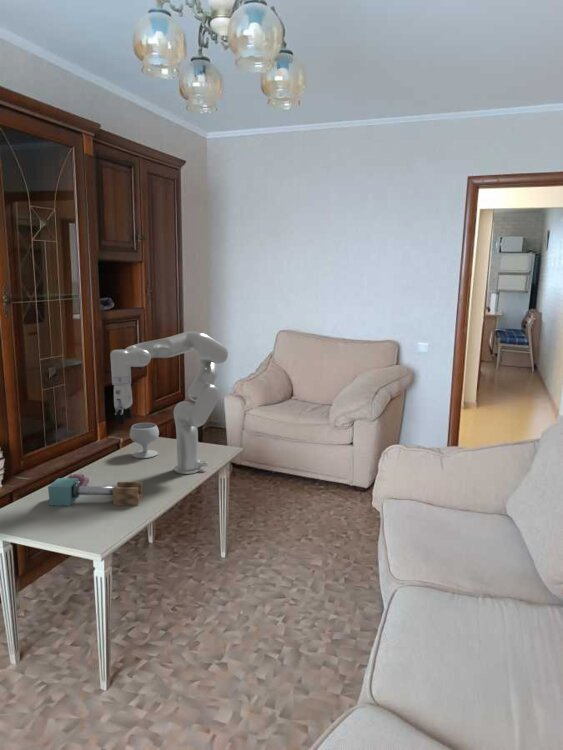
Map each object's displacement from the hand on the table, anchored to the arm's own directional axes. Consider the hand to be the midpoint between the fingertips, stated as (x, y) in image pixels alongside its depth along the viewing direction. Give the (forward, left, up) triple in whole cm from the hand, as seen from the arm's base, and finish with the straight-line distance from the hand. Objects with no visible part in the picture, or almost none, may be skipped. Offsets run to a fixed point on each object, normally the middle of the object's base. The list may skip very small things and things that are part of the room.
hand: (123, 420), depth 223 cm
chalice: (+3, -40, -28) cm, 49 cm away
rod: (+11, +16, -27) cm, 33 cm away
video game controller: (+20, +3, -29) cm, 35 cm away
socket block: (+20, +16, -28) cm, 38 cm away
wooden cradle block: (-5, +16, -28) cm, 33 cm away
